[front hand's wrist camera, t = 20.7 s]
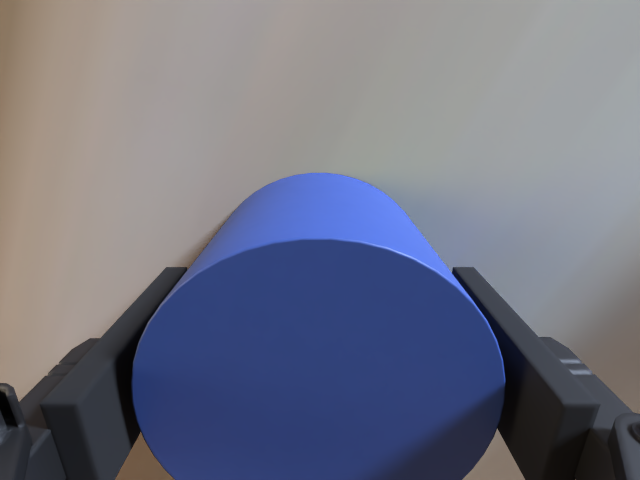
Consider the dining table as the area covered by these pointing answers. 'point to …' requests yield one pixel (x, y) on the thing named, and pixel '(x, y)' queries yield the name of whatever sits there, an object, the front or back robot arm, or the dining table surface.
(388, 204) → the blue cylinder
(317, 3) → the dining table surface
